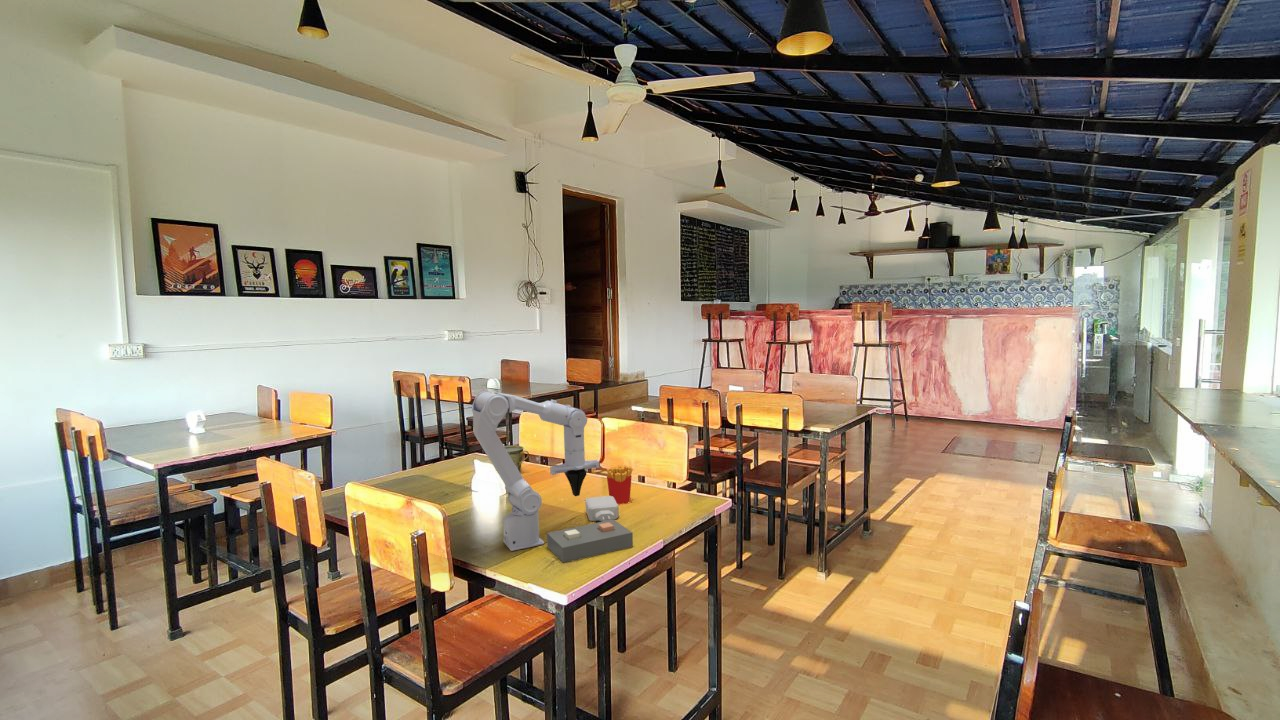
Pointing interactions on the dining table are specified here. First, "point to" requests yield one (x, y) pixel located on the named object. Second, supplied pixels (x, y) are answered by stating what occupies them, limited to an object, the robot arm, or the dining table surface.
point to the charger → (602, 508)
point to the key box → (589, 541)
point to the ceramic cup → (516, 455)
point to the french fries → (619, 483)
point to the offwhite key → (571, 534)
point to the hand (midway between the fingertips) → (576, 495)
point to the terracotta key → (606, 527)
